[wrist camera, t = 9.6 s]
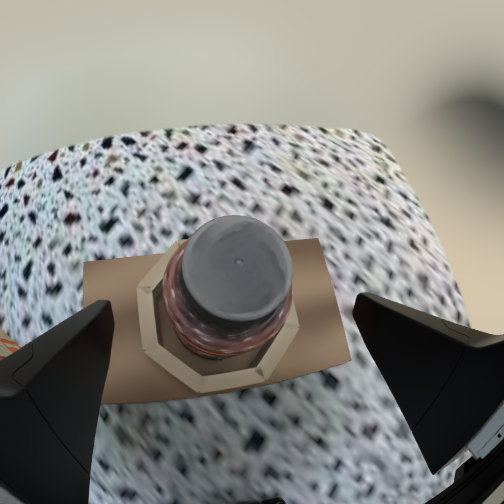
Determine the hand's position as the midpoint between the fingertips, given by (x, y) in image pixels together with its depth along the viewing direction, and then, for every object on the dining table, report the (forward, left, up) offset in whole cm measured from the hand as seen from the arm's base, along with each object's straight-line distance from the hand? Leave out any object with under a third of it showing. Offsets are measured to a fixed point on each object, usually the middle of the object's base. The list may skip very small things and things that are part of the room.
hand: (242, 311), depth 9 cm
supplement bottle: (+2, 0, -11) cm, 11 cm away
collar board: (+2, 0, -12) cm, 12 cm away
